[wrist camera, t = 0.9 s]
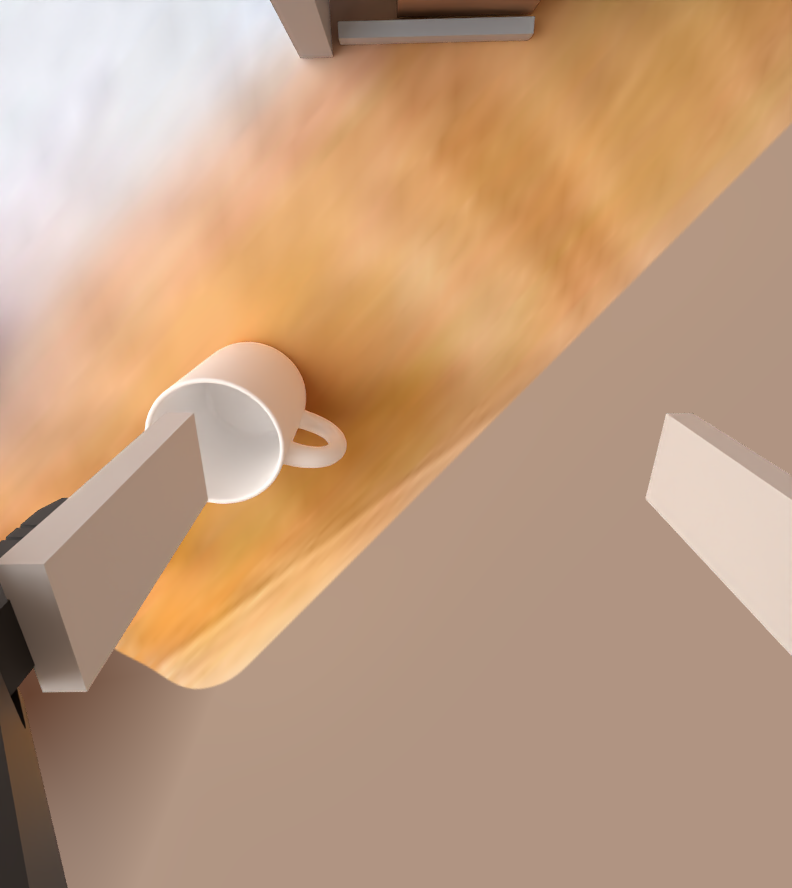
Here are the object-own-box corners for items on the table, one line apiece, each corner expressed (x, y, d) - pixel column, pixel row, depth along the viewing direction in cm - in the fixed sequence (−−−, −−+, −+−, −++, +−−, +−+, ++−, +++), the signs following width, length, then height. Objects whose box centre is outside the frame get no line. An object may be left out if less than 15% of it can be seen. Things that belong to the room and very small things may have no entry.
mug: (367, 377, 39) (361, 427, 30) (334, 466, 42) (319, 536, 33) (215, 322, 37) (157, 357, 28) (192, 420, 40) (133, 480, 31)
